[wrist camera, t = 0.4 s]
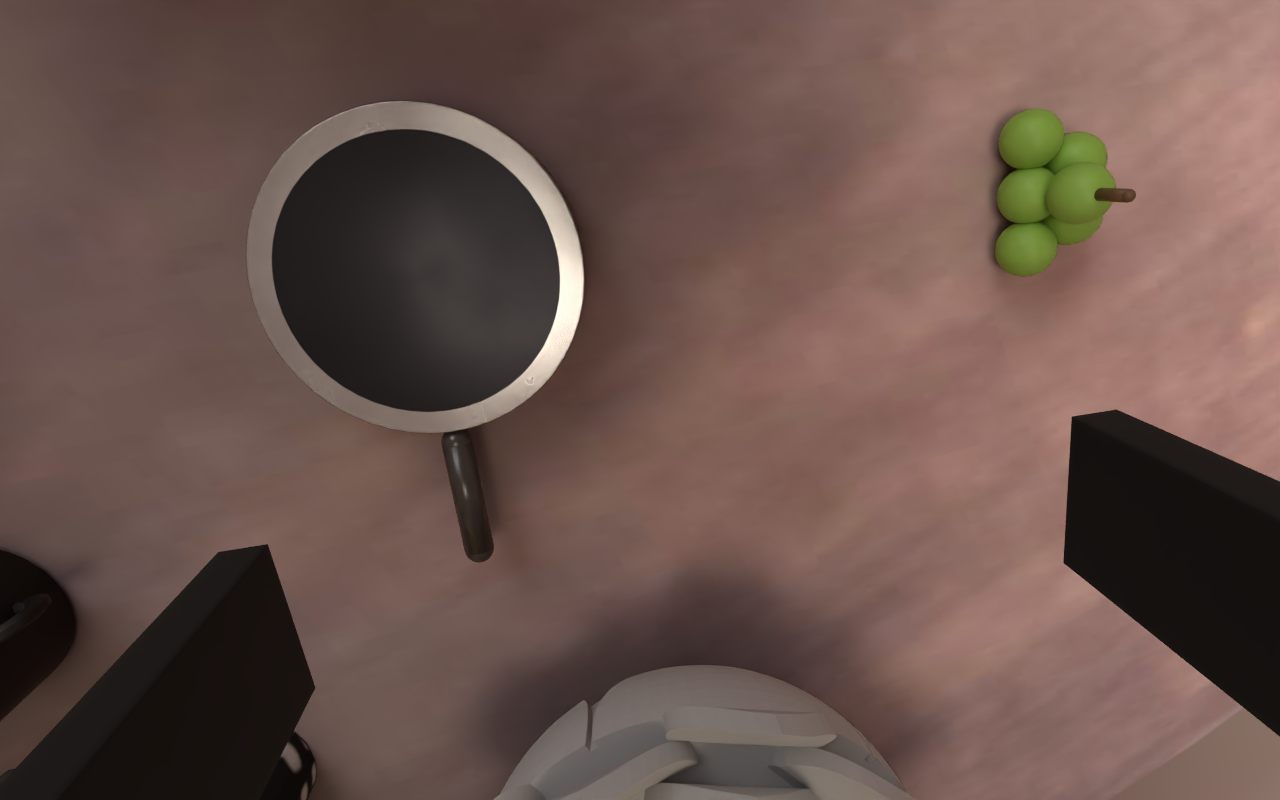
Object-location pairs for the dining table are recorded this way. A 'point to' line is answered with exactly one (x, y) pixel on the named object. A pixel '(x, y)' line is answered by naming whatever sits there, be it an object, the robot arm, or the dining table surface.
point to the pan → (418, 276)
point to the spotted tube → (292, 773)
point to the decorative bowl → (703, 744)
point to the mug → (29, 629)
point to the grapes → (1050, 190)
